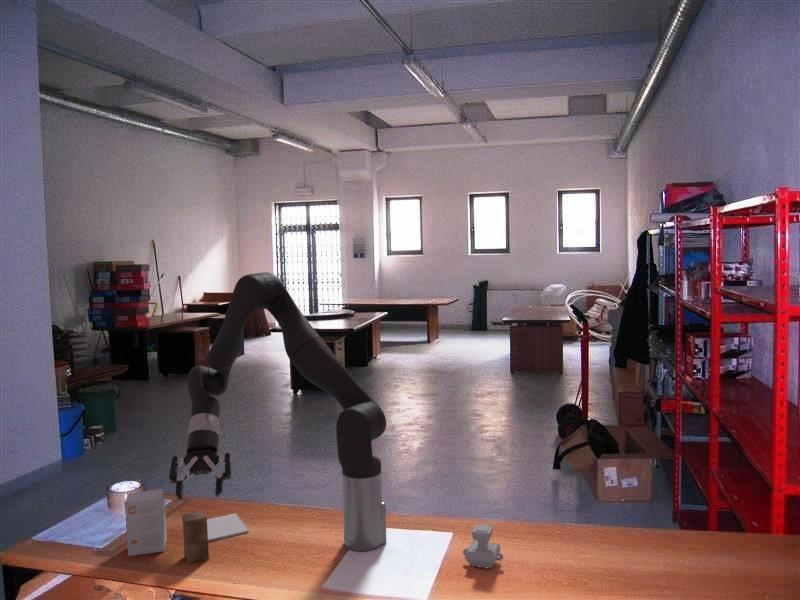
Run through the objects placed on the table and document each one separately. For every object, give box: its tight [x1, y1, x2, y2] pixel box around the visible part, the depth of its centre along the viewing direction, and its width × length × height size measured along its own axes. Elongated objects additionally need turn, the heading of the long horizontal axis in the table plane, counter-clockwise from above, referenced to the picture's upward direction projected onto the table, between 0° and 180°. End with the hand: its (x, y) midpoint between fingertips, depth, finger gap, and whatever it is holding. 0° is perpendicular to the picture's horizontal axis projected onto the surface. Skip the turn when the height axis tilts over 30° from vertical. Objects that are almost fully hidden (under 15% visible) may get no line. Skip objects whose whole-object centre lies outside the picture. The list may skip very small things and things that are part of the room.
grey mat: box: [207, 512, 249, 543], centre depth 165 cm, size 12×12×1 cm
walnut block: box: [181, 509, 210, 565], centre depth 149 cm, size 4×4×10 cm
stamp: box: [462, 523, 504, 569], centre depth 144 cm, size 9×7×8 cm
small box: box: [124, 488, 168, 557], centre depth 155 cm, size 8×6×13 cm
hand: (198, 496), depth 156 cm, fingers open, 8 cm apart
